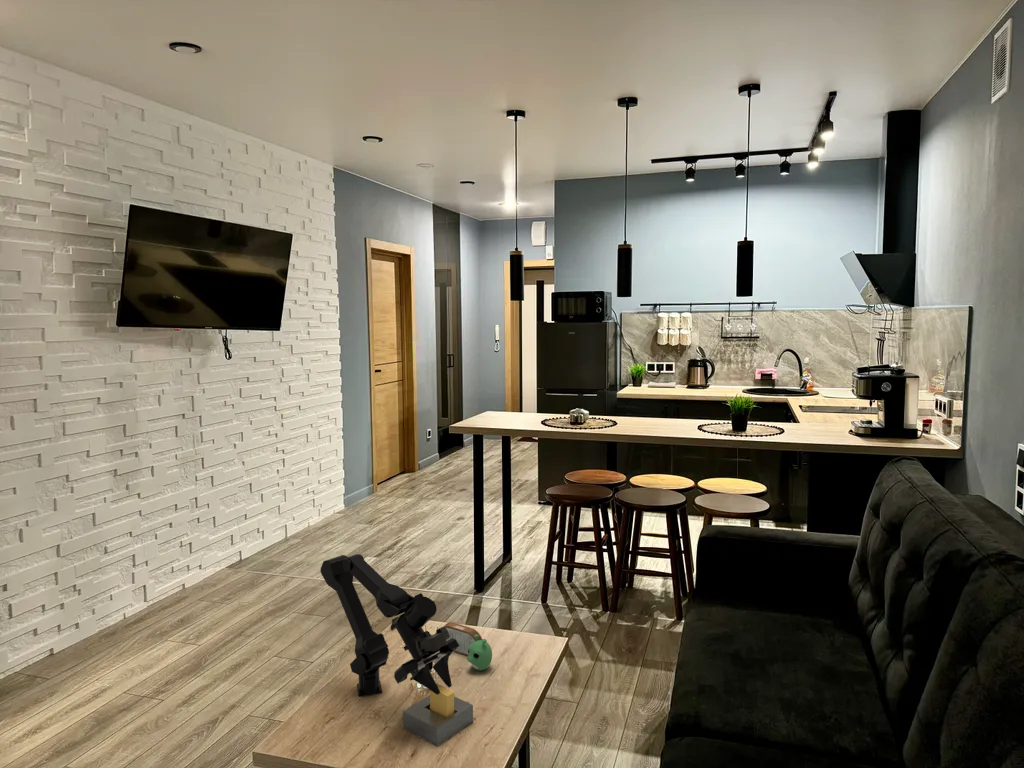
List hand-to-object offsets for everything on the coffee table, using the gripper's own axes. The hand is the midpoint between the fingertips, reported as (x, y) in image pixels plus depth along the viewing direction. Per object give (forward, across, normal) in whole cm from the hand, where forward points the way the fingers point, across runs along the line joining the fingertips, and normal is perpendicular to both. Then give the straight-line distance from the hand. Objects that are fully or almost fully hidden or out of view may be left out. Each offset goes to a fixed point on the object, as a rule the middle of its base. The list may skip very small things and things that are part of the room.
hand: (444, 690), depth 176 cm
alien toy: (-2, +27, +16) cm, 32 cm away
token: (+6, 0, +8) cm, 10 cm away
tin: (-10, +32, +24) cm, 41 cm away
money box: (+5, 0, +9) cm, 10 cm away
